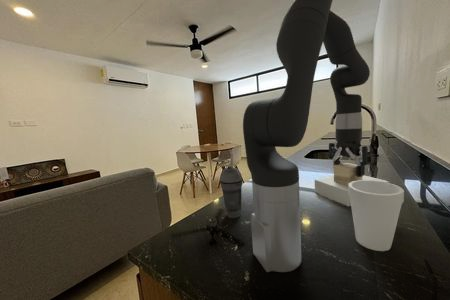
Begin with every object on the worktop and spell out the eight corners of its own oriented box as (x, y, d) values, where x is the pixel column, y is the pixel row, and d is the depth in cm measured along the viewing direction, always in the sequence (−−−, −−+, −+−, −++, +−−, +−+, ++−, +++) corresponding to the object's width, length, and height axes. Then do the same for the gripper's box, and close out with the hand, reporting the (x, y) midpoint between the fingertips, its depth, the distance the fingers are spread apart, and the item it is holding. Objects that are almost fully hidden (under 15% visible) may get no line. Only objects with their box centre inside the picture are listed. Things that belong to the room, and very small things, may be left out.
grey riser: (348, 206, 60) (348, 191, 59) (314, 192, 73) (314, 179, 73) (388, 195, 65) (388, 181, 65) (350, 183, 79) (350, 172, 78)
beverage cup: (233, 207, 67) (228, 150, 64) (250, 213, 61) (245, 151, 58) (218, 215, 62) (212, 154, 59) (234, 222, 56) (229, 156, 53)
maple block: (349, 186, 63) (349, 168, 63) (333, 181, 69) (333, 165, 68) (362, 182, 65) (362, 165, 64) (346, 178, 71) (346, 162, 70)
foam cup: (347, 226, 50) (347, 178, 48) (394, 234, 45) (396, 181, 43) (349, 249, 42) (349, 192, 40) (406, 261, 37) (410, 198, 35)
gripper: (322, 127, 70) (323, 170, 72) (360, 128, 56) (359, 181, 59) (338, 126, 72) (338, 167, 74) (378, 125, 59) (377, 176, 61)
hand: (347, 173), depth 67 cm, fingers open, 8 cm apart
